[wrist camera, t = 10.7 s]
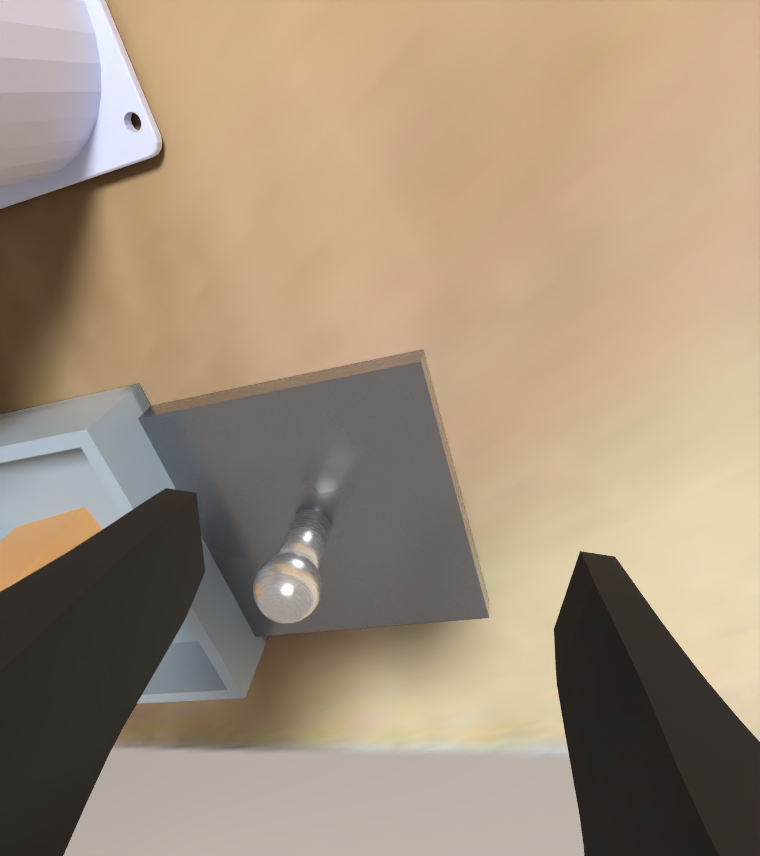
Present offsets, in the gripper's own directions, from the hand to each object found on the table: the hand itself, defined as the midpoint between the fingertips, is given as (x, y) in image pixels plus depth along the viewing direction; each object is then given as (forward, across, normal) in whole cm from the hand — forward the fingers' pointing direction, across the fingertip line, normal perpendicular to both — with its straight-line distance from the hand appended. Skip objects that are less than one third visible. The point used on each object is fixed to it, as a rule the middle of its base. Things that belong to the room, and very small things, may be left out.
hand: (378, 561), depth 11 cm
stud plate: (+10, +4, +8) cm, 13 cm away
